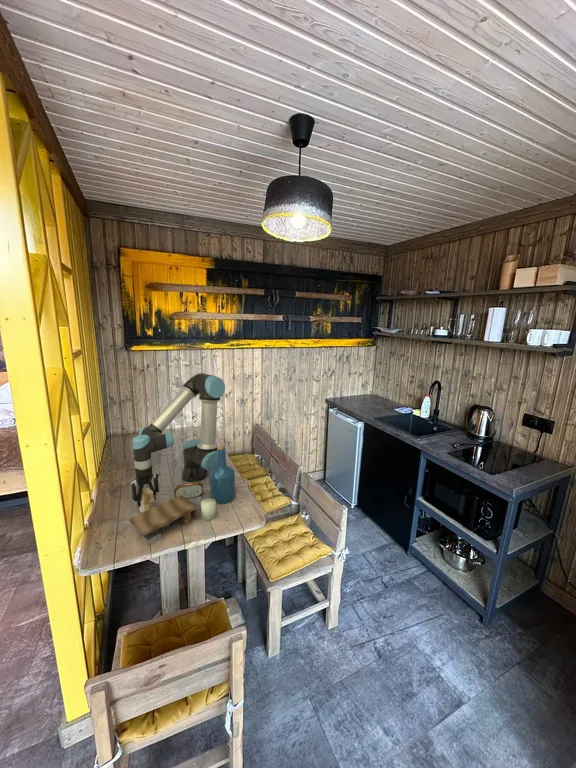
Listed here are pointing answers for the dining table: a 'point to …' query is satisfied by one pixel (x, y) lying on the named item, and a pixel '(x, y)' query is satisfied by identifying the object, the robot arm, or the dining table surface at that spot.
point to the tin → (189, 489)
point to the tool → (148, 501)
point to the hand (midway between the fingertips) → (147, 508)
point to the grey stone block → (151, 537)
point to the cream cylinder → (208, 509)
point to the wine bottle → (222, 480)
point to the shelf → (165, 515)
